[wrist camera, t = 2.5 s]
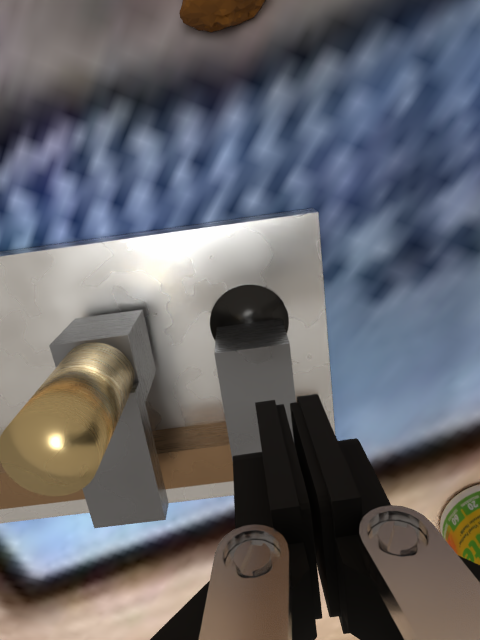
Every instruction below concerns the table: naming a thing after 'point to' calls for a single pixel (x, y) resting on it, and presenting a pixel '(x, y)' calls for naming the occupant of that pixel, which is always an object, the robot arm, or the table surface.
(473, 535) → the supplement bottle
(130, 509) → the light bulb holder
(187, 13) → the primitive tool
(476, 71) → the table surface
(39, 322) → the bolt plate
